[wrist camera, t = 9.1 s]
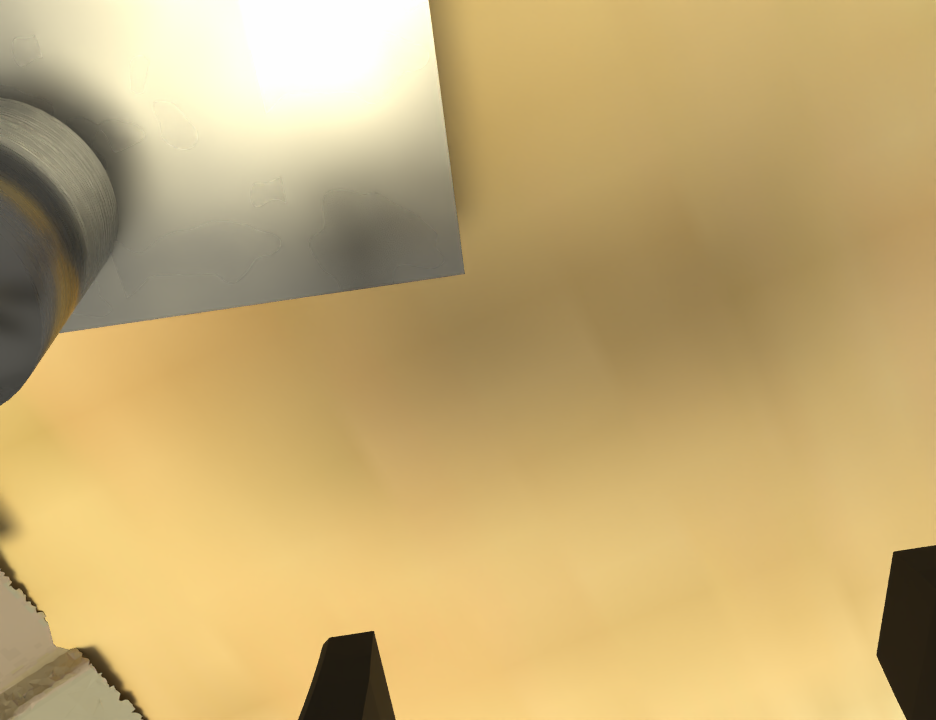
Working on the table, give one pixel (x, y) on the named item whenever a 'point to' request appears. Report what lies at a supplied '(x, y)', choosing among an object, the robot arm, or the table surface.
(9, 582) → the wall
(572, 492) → the table surface
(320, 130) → the silver box with hole
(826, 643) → the table surface
